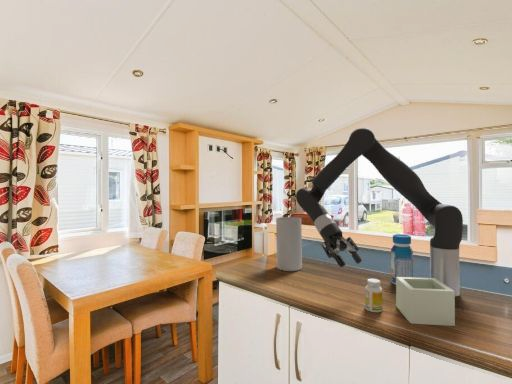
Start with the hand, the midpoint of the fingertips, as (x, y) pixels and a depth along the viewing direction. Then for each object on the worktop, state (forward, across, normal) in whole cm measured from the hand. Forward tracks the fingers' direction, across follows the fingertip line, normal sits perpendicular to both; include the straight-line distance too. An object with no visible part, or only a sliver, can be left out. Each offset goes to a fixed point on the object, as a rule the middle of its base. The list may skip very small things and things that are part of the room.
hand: (351, 264), depth 101 cm
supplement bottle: (+15, 0, +3) cm, 16 cm away
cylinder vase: (-22, +6, +41) cm, 47 cm away
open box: (+23, +9, -5) cm, 26 cm away
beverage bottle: (+9, +31, +10) cm, 34 cm away
